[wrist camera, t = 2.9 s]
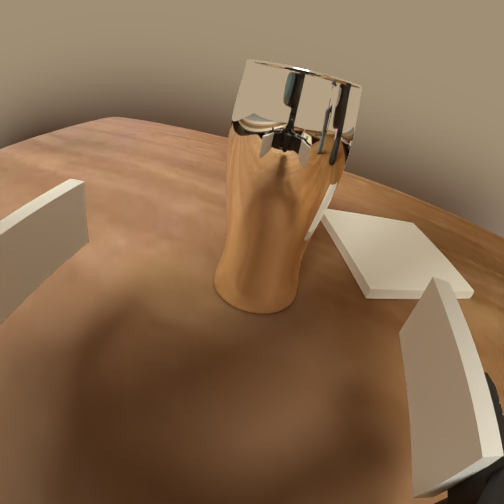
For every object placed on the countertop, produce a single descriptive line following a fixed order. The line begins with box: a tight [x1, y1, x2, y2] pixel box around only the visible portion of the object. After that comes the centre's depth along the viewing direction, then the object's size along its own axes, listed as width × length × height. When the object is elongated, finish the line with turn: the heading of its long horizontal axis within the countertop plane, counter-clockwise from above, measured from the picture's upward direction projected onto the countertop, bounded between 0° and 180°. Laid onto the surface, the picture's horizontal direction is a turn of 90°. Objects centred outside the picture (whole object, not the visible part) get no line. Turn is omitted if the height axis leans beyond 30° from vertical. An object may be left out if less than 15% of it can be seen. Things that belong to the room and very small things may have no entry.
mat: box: [321, 209, 474, 299], centre depth 31 cm, size 14×14×1 cm
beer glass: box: [214, 59, 363, 314], centre depth 19 cm, size 7×7×15 cm
